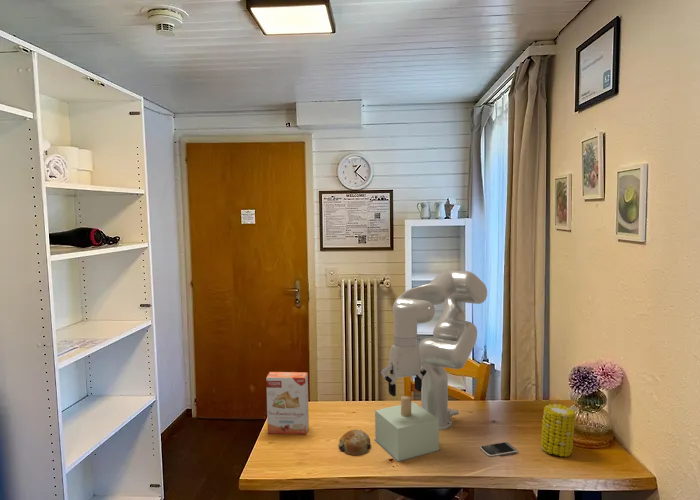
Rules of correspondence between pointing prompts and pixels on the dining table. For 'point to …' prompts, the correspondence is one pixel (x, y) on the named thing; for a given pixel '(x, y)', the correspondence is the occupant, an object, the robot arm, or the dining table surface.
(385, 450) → the mat
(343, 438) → the bread roll
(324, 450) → the dining table surface
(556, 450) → the food
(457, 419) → the dining table surface
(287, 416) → the cracker box
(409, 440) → the pale green box
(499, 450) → the cell phone
